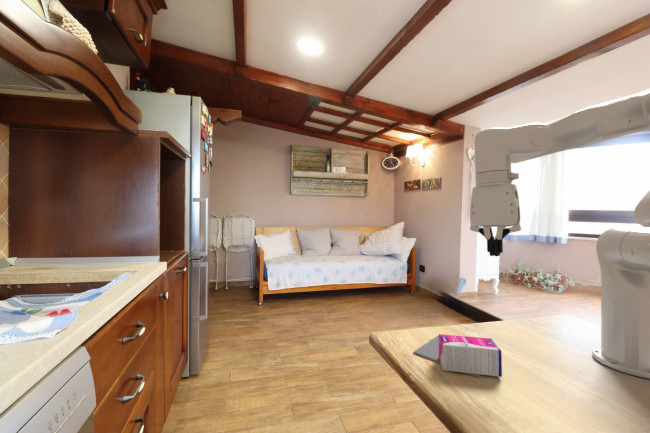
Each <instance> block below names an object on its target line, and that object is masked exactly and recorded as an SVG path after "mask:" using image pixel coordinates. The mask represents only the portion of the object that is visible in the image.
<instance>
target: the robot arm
mask: <svg viewBox="0 0 650 433" xmlns="http://www.w3.org/2000/svg"><path fill="white" fill-rule="evenodd" d="M647 130H650V88H649V89H646V90H644V91H641V92H639V93H636V94H631V95H627V96H624V97H621V98H617V99H613V100H610V101H607V102H603V103H599V104H596V105H591V106H588V107H585V108H583V109H580V110H578V111H575V112H573V113H571V114H568V115H566V116H565V117H562V118H560V119H558V120H556V121H553V122H551V123H549V124H545V123H541V122H531V123H526V124H521V125H517V126H516V125H515V126H511V127H505V128H504V127H492V128H486V129H484V130H481V131H479V132H477V133H476V134H475V135H474V139H473V140H474V143H473V144H474V171H475V186H473V188H472V191H471V198H470V204H469V205H470V206H469V220H470V227H469V230H470V231H472V232H476V233H480V234H481V235H482V236H483V237H484V239H486V247H487V248H486V250H487V253H489V256H490V257H499V256H501V254H503V252H504V249H503V248H504V246H503V243H504V242H503V240H504V238H505V237H506V236H508V235H509V234H510V233H515V232H516V233H517V232H519V231H521V230H522V227H521V210H520V199H519V193H518V189H517V185H516V184H514V183H513V181H514V180H519V178H520V177H519V176H520V174H519V173H517V172H516V173H515V172H513V171H512V164H518V163H522V162H525V161H529V160H530V161H531V160H533V159H536V158H541V157H544V156H549V155H551V154H556V153H560V152H564V151H568V150H574V149H578V148H583V147H586V146H590V145H592V144H597V143H600V142H605V141H608V140H612V139H616V138H619V137H620V138H621V137H623V136H627V135H632V134H636V133H640V132H643V131H647ZM633 216H634V220H635V221H636V222H637V223H638V225H639V224H640V226H637V225H636V226H635V225H633V226H632V225H631V226H629V225H625V226H617V227H613V228H609V229H607V230H605V231H603V232H602V233H601V234H600V235H599V236H598V238H597V240H596V244H595V250H596V255H597V260H598V265H599V268H600V277H601V278H600V280H601V299H600V302H601V304H600V305H601V306H600V307H601V309H600V310H601V315H600V316H601V317H600V318H601V319H600V320H601V323H600V324H601V326H600V329H601V330H600V334H601V335H600V336H601V337H600V338H601V339H600V340H601V343H600V345H601V347H595V348H593V349H592V350H591V351H592V354H591V355H592V357H593V359H595V360H596V361H598V363H601V364H602V365H604V366H607V367H608V368H611V369H613V370H616V371H619V372H622V373H623V374H628V375H631V376H636V377H639V378H645V379H648V380H649V379H650V190H649V191H648V192H646V193H645V195H644V196H643V197H642V198H641V199H640V200H639V202H638V203H637V205H636V206H635V208H634V211H633ZM492 227H496V235H495V236H494V233H493V228H492Z"/></svg>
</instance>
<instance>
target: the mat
mask: <svg viewBox="0 0 650 433" xmlns="http://www.w3.org/2000/svg"><path fill="white" fill-rule="evenodd" d="M413 354H415V355H417V356H419V357H421V358H422V357H423V358H425V359H427V360H431V361H433V362H435V363H437V364H440V365H441V363H440V360H439V334H438V335H436V336H435V337H433V338H432V339H430V340H429V341H427V342H426V343H424V344H423V345H422V346H420V347H419V348H417V349H415V350H413ZM465 374H467V375H470V376H472V377H475V378H479V377H480V376H481V374H472V373H465Z"/></svg>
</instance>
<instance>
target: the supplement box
mask: <svg viewBox="0 0 650 433" xmlns="http://www.w3.org/2000/svg"><path fill="white" fill-rule="evenodd" d="M438 335H439V360H440V363H441V364H440V363H439V364H440V367H441V368H442V371H447V372H458V373H464V374H466V373H472V374H480V376H491V377H498V378H499V377H501V378H502V377H503V368H502V366H503V364H502V363H503V362H502V360H503V359H502V350H501V349H500V348H499V347H498V345H497V344H496V342H495V341H494V339H492V338H489V337H478V336H467V335H466V336H464V335H455V334H454V335H452V334H443V333H442V334H440V333H439V334H438Z"/></svg>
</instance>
